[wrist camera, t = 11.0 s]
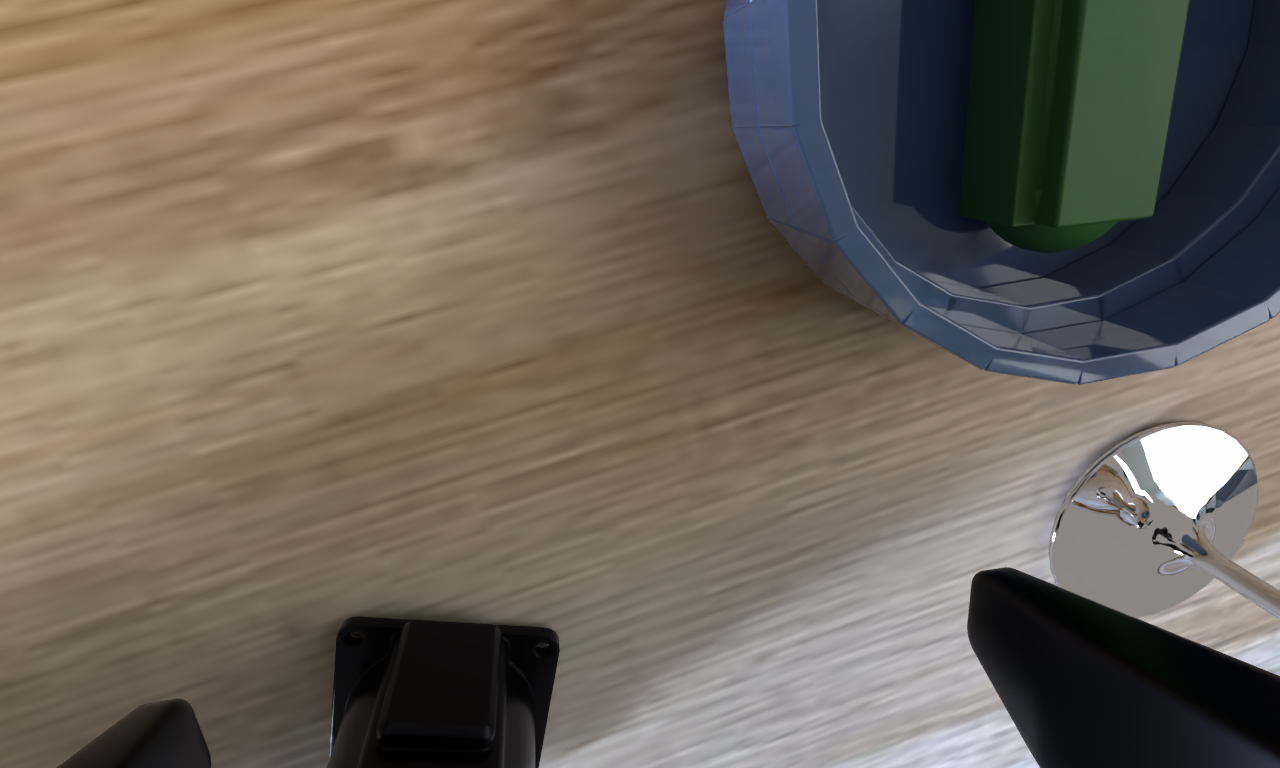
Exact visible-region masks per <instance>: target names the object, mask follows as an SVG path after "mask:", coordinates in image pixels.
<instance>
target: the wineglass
mask: <svg viewBox="0 0 1280 768" xmlns="http://www.w3.org/2000/svg"><path fill="white" fill-rule="evenodd" d="M1257 501H1258V478H1257V473H1256V469H1255V464H1254V462H1253V460H1252V459H1251V457H1250V455H1249V453H1248V451H1247V449H1246V448H1245V447H1244V446H1243V445H1242V444H1241V443H1240V442H1239V441H1238V440H1237V439H1236V438H1235V437H1234V436H1233V435H1231V434H1229V433H1228V432H1226V431H1224V430H1222V429H1221V428H1219V427H1216V426H1212V425H1208V424H1204V423H1201V422H1175V423H1169V424H1164V425H1158V426H1155V427H1152V428H1150V429H1147V430H1144V431H1141V432H1138V433H1136V434H1134V435H1132V436H1131V437H1129V438H1127V439H1125V440H1123V441H1121V442H1120V443H1118V444H1116V445H1115V446H1113V447H1112V448H1111V449H1109V450H1108V451H1107V452H1105V453H1104V454H1103V455H1102V456H1100V457H1099V458H1098V459H1096V460H1095V461H1094V463H1093V464H1092V465H1091V466H1090V467H1089V468H1088V469H1087V470H1086V471H1085V472H1084V473H1083V474H1082V475H1081V476H1080V477H1079V478H1078V480H1077V481H1076V483H1075V484H1074V485H1073V487H1072V488H1071V489H1070V491H1069V492H1068V494H1067V495H1066V497H1065V499H1064V501H1063V503H1062V505H1061V507H1060V509H1059V511H1058V513H1057V515H1056V518H1055V521H1054V524H1053V528H1052V531H1051V535H1050V544H1049V560H1050V569H1051V572H1052V575H1053V578H1054V580H1055V583H1056V585H1057V586H1058V587H1060V588H1063V589H1065V590H1068V591H1070V592H1073V593H1075V594H1077V595H1080V596H1082V597H1085V598H1087V599H1090V600H1092V601H1095V602H1097V603H1100V604H1102V605H1105V606H1107V607H1110V608H1112V609H1115V610H1117V611H1119V612H1122V613H1124V614H1127V615H1129V616H1132V617H1134V618H1139V617H1144V616H1149V615H1153V614H1156V613H1158V612H1161V611H1164V610H1166V609H1169V608H1171V607H1173V606H1175V605H1177V604H1179V603H1181V602H1183V601H1184V600H1186V599H1188V598H1190V597H1191V596H1192V595H1194V594H1195V593H1197V592H1198V591H1199V590H1201V589H1202V588H1204V587H1205V586H1206V585H1207V584H1208V583H1209V582H1211V581H1212V580H1213V579H1214V578H1216V579H1218V580H1219V581H1221V582H1222V583H1224V584H1225V585H1227V586H1228V587H1230V588H1231V589H1233V590H1234V591H1236V592H1237V593H1239V594H1240V595H1242V596H1244V597H1245V598H1247V599H1248V600H1250V601H1251V602H1253V603H1254V604H1256V605H1257V606H1259V607H1260V608H1262V609H1263V610H1265V611H1266V612H1268V613H1270V614H1271V615H1273V616H1274V617H1276V618H1277V619H1279V620H1280V590H1278V589H1277V588H1275V587H1273V586H1272V585H1270V584H1269V583H1267V582H1265V581H1264V580H1262V579H1260V578H1259V577H1257V576H1256V575H1254V574H1252V573H1251V572H1249V571H1247V570H1246V569H1244V568H1243V567H1241V566H1239V565H1238V564H1236V563H1234V562H1233V561H1231V559H1232V558H1233V557H1234V555H1235V554H1236V552H1237V551H1238V549H1239V547H1240V546H1241V544H1242V542H1243V541H1244V539H1245V538H1246V535H1247V533H1248V531H1249V528H1250V526H1251V523H1252V521H1253V519H1254V514H1255V510H1256V505H1257Z"/></svg>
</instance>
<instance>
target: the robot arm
mask: <svg viewBox="0 0 1280 768" xmlns="http://www.w3.org/2000/svg"><path fill="white" fill-rule="evenodd" d="M967 630H968V637H969V641H970V643H971V646H972V648H973V650H974V652H975V654H976V656H977V658H978V659H979V661H980V663H981V665H982V666H983V668H984V670H985V672H986V674H987V675H988V677H989V679H990V681H991V682H992V684H993V686H994V688H995V690H996V691H997V693H998V695H999V697H1000V698H1001V700H1002V702H1003V704H1004V706H1005V707H1006V709H1007V711H1008V713H1009V714H1010V716H1011V718H1012V720H1013V722H1014V723H1015V725H1016V727H1017V729H1018V731H1019V732H1020V734H1021V736H1022V738H1023V739H1024V741H1025V743H1026V745H1027V747H1028V748H1029V750H1030V752H1031V753H1032V755H1033V757H1034V758H1035V760H1036V762H1037V763H1038V765H1039V767H1040V768H1280V676H1278V675H1275V674H1273V673H1270V672H1268V671H1265V670H1263V669H1260V668H1258V667H1256V666H1253V665H1251V664H1248V663H1246V662H1243V661H1241V660H1238V659H1236V658H1233V657H1231V656H1228V655H1226V654H1223V653H1221V652H1218V651H1216V650H1213V649H1211V648H1209V647H1206V646H1204V645H1201V644H1199V643H1196V642H1194V641H1191V640H1189V639H1186V638H1184V637H1181V636H1179V635H1176V634H1174V633H1171V632H1169V631H1166V630H1164V629H1162V628H1159V627H1157V626H1154V625H1152V624H1149V623H1147V622H1144V621H1142V620H1139V619H1137V618H1134V617H1132V616H1129V615H1127V614H1124V613H1122V612H1119V611H1117V610H1115V609H1112V608H1110V607H1107V606H1105V605H1102V604H1100V603H1097V602H1095V601H1092V600H1090V599H1087V598H1085V597H1082V596H1080V595H1077V594H1075V593H1073V592H1070V591H1068V590H1065V589H1063V588H1060V587H1058V586H1055V585H1053V584H1050V583H1048V582H1045V581H1043V580H1040V579H1038V578H1035V577H1033V576H1031V575H1028V574H1026V573H1023V572H1021V571H1018V570H1016V569H1013V568H1007V567H1005V568H998V569H992V570H985V571H980V572H978V573H977V574H976V575H975V576H974V578H973V580H972V585H971V594H970V604H969V614H968V624H967ZM354 632H356V633H359V634H361V635H362V636H363V637H360V638H356V637H352V636H351V635H350V633H354ZM540 643H547V644H549V646H547V647H545V648H540V647H538V646H537V645H539V644H540ZM558 656H559V637H558V635H557V633H556V632H555V631H553V630H552V629H548V628H540V627H524V626H507V625H492V624H476V623H459V622H442V621H426V620H407V619H390V618H373V617H351V618H349V619H347V620H345V621H344V623H343V624H342V625H341V627H340V630H339V633H338V636H337V639H336V655H335V671H334V688H333V704H332V720H331V737H330V753H329V763H328V766H327V768H539V762H540V757H541V751H542V745H543V740H544V734H545V729H546V723H547V717H548V712H549V706H550V701H551V695H552V690H553V684H554V678H555V673H556V667H557V662H558ZM57 768H211V759H210V754H209V750H208V748H207V745H206V742H205V740H204V737H203V734H202V732H201V729H200V727H199V724H198V721H197V719H196V716H195V713H194V711H193V708H192V707H191V705H190V704H189V703H188V702H187V701H186V700H184V699H171V700H165V701H159V702H152V703H148V704H144V705H142V706H139V707H138V708H136V709H135V710H134V711H132V712H131V713H130V714H128V715H127V716H126V717H124V718H123V719H122V720H120V721H119V722H117V723H116V724H115V725H113V726H112V727H111V728H109V729H108V730H107V731H105V732H104V733H103V734H101V735H100V736H99V737H97V738H96V739H95V740H93V741H92V742H91V743H89V744H88V745H87V746H85V747H84V748H82V749H81V750H80V751H78V752H77V753H76V754H74V755H73V756H72V757H70V758H69V759H68V760H66V761H65V762H64V763H62V764H61V765H60V766H58V767H57Z"/></svg>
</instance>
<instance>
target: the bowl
mask: <svg viewBox="0 0 1280 768" xmlns="http://www.w3.org/2000/svg"><path fill="white" fill-rule="evenodd" d="M974 13H975V0H727V2H726V7H725V12H724V16H725V18H724V19H723V28H724V41H725V54H726V66H727V79H728V92H729V104H730V117H731V126H732V127H733V128H732V131H733V133H734V136H735V138H736V141H737V143H738V146H739V148H740V151H741V153H742V156H743V158H744V161H745V163H746V166H747V169H748V171H749V174H750V176H751V179H752V181H753V184H754V186H755V189H756V191H757V194H758V196H759V199H760V202H761V204H762V207H763V209H764V212H765V214H766V216H767V217H768V220H769V221H770V222H771V223H772V224H773V226H774V227H775V228H776V229H777V230H778V231H779V233H780V234H781V235H782V236H783V237H784V239H785V240H786V241H787V242H788V243H789V244H790V246H791V247H792V248H793V249H794V250H795V251H796V253H797V254H798V255H799V256H800V257H801V259H802V260H803V261H804V262H805V263H806V264H807V266H808V267H809V268H810V269H811V270H812V271H813V273H814V274H815V275H816V276H817V277H818V278H819V280H820V281H821V282H822V283H824V284H826V286H828V287H830V288H832V289H834V290H835V291H837V292H839V293H841V294H842V295H844V296H846V297H848V298H850V299H851V300H853V301H855V302H857V303H859V304H860V305H862V306H864V307H866V308H867V309H869V310H871V311H873V312H875V313H876V314H878V315H880V316H882V317H883V318H885V319H887V320H889V321H891V322H892V323H894V324H896V325H898V326H900V327H902V328H904V329H906V330H907V331H909V332H911V333H913V334H915V335H917V336H919V337H921V338H923V339H924V340H926V341H928V342H930V343H932V344H934V345H936V346H937V347H939V348H941V349H943V350H945V351H947V352H949V353H951V354H952V355H954V356H956V357H958V358H960V359H962V360H964V361H966V362H967V363H969V364H971V365H973V366H975V367H977V368H979V369H981V370H985V371H987V372H994V373H1001V374H1007V375H1014V376H1021V377H1028V378H1035V379H1041V380H1048V381H1055V382H1062V383H1069V384H1085V383H1091V382H1096V381H1102V380H1107V379H1113V378H1118V377H1124V376H1129V375H1135V374H1140V373H1145V372H1151V371H1156V370H1162V369H1167V368H1173V367H1174V366H1178V365H1180V364H1182V363H1184V362H1186V361H1188V360H1190V359H1192V358H1194V357H1196V356H1198V355H1200V354H1202V353H1204V352H1207V351H1209V350H1211V349H1213V348H1215V347H1217V346H1219V345H1221V344H1223V343H1225V342H1227V341H1229V340H1231V339H1233V338H1235V337H1237V336H1239V335H1241V334H1243V333H1245V332H1247V331H1249V330H1251V329H1253V328H1255V327H1257V326H1259V325H1261V324H1264V323H1266V322H1268V321H1269V319H1271V318H1273V317H1275V316H1276V315H1277V314H1278V313H1279V312H1280V0H1189V6H1188V12H1187V18H1186V24H1185V30H1184V36H1183V42H1182V48H1181V54H1180V60H1179V66H1178V72H1177V78H1176V84H1175V90H1174V96H1173V102H1172V108H1171V113H1170V119H1169V125H1168V131H1167V137H1166V143H1165V149H1164V155H1163V161H1162V167H1161V173H1160V179H1159V185H1158V191H1157V197H1156V203H1155V209H1154V214H1153V216H1152V217H1150V218H1146V219H1137V220H1128V221H1118V222H1117V223H1116V224H1115V225H1114V226H1113V227H1112V228H1111V229H1109V230H1108V231H1107V232H1106V233H1105V234H1103V235H1101V236H1100V237H1098V238H1097V239H1095V240H1093V241H1092V242H1090V243H1087V244H1085V245H1082V246H1080V247H1077V248H1075V249H1071V250H1066V251H1060V252H1053V253H1041V252H1034V251H1029V250H1025V249H1021V248H1018V247H1016V246H1014V245H1012V244H1010V243H1008V242H1006V241H1005V240H1003V239H1002V238H1001V237H999V236H998V235H997V234H995V232H994V231H993V230H992V229H991V228H990V226H989V225H988V224H987V222H985V221H980V220H975V219H970V218H965V217H961V216H960V215H959V212H960V199H961V186H962V172H963V159H964V146H965V133H966V119H967V106H968V93H969V79H970V66H971V53H972V40H973V26H974Z"/></svg>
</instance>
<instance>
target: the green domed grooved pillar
mask: <svg viewBox="0 0 1280 768" xmlns="http://www.w3.org/2000/svg"><path fill="white" fill-rule="evenodd" d="M1188 6H1189V0H975V13H974V26H973V40H972V53H971V66H970V79H969V93H968V106H967V119H966V133H965V146H964V159H963V172H962V186H961V199H960V212H959V215H960V216H961V217H965V218H970V219H975V220H980V221H985V222H987V224H988V225H989V226H990V228H991V229H992V230H993V231H994V232H995V234H997V235H998V236H999V237H1001V238H1002V239H1003V240H1005V241H1006V242H1008V243H1010V244H1012V245H1014V246H1016V247H1018V248H1021V249H1025V250H1029V251H1034V252H1041V253H1053V252H1060V251H1066V250H1071V249H1075V248H1077V247H1080V246H1082V245H1085V244H1087V243H1090V242H1092V241H1093V240H1095V239H1097V238H1098V237H1100V236H1101V235H1103V234H1105V233H1106V232H1107V231H1108V230H1109V229H1111V228H1112V227H1113V226H1114V225H1115V224H1116V223H1117V222H1118V221H1128V220H1137V219H1146V218H1150V217H1152V216H1153V214H1154V209H1155V203H1156V197H1157V191H1158V185H1159V179H1160V173H1161V167H1162V161H1163V155H1164V149H1165V143H1166V137H1167V131H1168V125H1169V119H1170V113H1171V108H1172V102H1173V96H1174V90H1175V84H1176V78H1177V72H1178V66H1179V60H1180V54H1181V48H1182V42H1183V36H1184V30H1185V24H1186V18H1187V12H1188Z"/></svg>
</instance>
